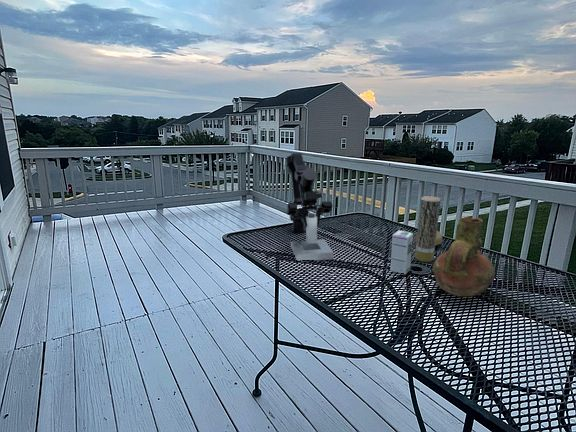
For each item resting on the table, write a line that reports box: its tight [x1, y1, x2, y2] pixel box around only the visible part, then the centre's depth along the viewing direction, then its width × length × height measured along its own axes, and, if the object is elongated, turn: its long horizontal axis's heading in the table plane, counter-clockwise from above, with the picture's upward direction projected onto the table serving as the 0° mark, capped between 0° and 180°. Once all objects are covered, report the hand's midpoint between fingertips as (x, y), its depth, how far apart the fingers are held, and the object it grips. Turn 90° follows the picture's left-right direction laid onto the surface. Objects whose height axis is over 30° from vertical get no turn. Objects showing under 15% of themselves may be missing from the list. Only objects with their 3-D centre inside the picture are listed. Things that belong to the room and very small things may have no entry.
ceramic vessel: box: [432, 216, 496, 297], centre depth 102 cm, size 17×26×25 cm, turn 141°
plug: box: [305, 213, 318, 242], centre depth 133 cm, size 4×4×11 cm
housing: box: [290, 238, 334, 262], centre depth 136 cm, size 15×15×3 cm
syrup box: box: [389, 229, 414, 275], centre depth 118 cm, size 6×6×14 cm
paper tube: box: [414, 195, 442, 263], centre depth 125 cm, size 7×7×25 cm
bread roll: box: [414, 230, 443, 247], centre depth 141 cm, size 10×15×8 cm, turn 132°
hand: (312, 226), depth 131 cm, fingers closed on plug, 4 cm apart
